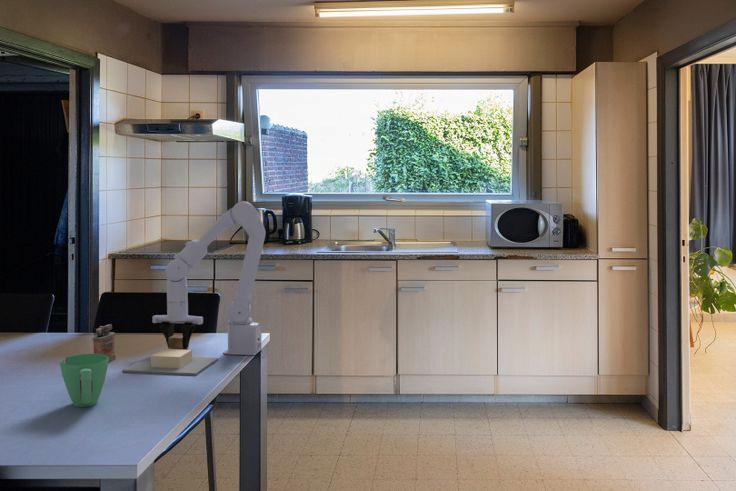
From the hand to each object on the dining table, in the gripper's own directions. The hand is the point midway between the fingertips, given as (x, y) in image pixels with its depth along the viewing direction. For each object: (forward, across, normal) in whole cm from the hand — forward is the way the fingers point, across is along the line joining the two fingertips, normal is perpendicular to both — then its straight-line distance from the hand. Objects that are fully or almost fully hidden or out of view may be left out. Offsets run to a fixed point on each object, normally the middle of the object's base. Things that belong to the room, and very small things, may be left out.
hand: (178, 347), depth 192 cm
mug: (+2, 0, -48) cm, 48 cm away
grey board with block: (+2, +4, -13) cm, 14 cm away
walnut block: (+2, 0, 0) cm, 2 cm away
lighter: (+2, -16, -12) cm, 20 cm away
